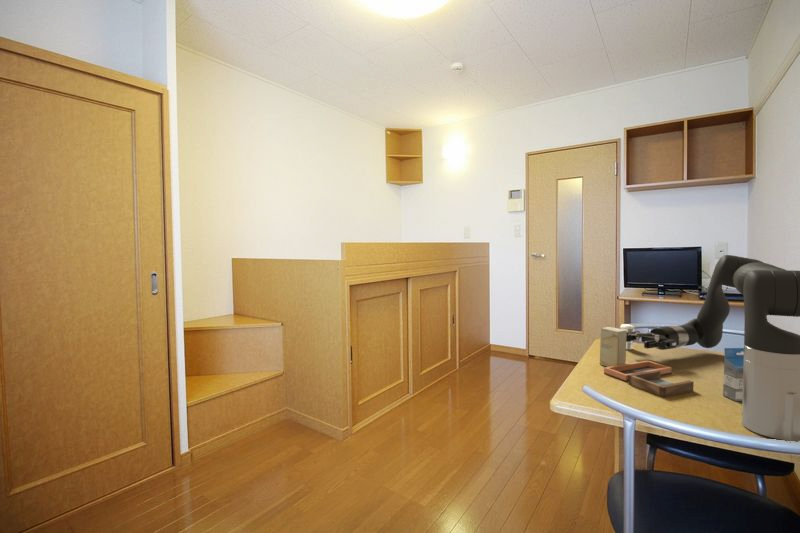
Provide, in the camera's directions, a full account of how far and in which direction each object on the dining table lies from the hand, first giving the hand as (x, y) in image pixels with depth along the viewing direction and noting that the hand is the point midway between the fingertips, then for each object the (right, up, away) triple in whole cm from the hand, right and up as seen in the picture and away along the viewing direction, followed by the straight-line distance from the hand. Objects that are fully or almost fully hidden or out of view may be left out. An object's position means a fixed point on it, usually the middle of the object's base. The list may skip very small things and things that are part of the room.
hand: (632, 341), depth 122 cm
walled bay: (-5, -8, -20) cm, 22 cm away
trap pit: (-4, -8, -9) cm, 13 cm away
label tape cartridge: (+11, -9, -29) cm, 32 cm away
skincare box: (-8, -8, -2) cm, 11 cm away
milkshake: (+9, -6, +17) cm, 20 cm away
